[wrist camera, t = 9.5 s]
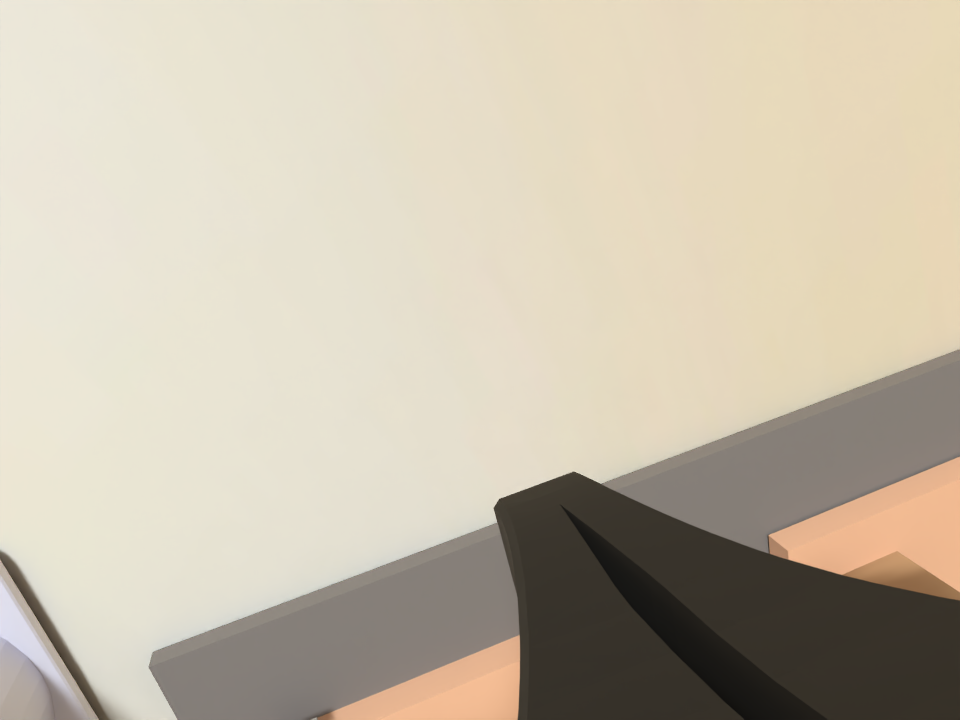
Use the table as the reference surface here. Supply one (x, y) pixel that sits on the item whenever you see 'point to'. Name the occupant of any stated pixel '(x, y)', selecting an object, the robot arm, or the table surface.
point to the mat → (486, 573)
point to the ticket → (450, 691)
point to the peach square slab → (888, 535)
